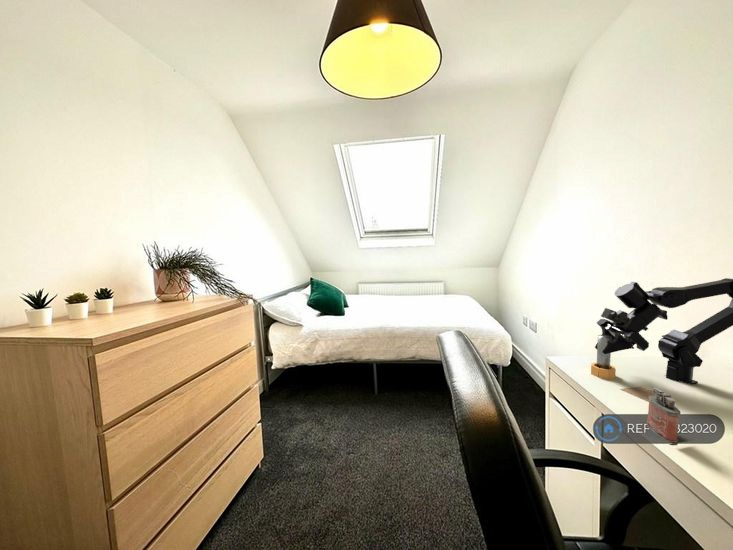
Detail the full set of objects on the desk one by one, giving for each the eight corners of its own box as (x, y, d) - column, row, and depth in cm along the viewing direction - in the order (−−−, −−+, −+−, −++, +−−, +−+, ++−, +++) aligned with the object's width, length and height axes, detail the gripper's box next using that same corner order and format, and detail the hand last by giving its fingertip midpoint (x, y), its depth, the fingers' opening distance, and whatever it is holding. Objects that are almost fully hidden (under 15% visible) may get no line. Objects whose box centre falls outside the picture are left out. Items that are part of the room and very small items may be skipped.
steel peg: (607, 373, 110) (609, 335, 109) (610, 377, 107) (612, 338, 105) (594, 372, 111) (596, 334, 110) (597, 376, 108) (599, 337, 107)
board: (640, 388, 100) (641, 386, 100) (670, 401, 92) (670, 398, 92) (619, 391, 98) (619, 389, 98) (647, 404, 90) (647, 401, 90)
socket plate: (601, 370, 114) (601, 360, 114) (626, 381, 106) (627, 370, 105) (579, 372, 112) (580, 362, 112) (603, 383, 104) (604, 372, 103)
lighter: (682, 446, 72) (686, 402, 71) (664, 444, 73) (668, 400, 72) (658, 426, 80) (661, 386, 79) (641, 424, 80) (645, 385, 79)
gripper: (604, 295, 115) (568, 326, 118) (640, 305, 97) (597, 341, 99) (627, 318, 115) (591, 348, 117) (668, 333, 96) (624, 368, 99)
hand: (599, 350), depth 108 cm, fingers open, 4 cm apart
